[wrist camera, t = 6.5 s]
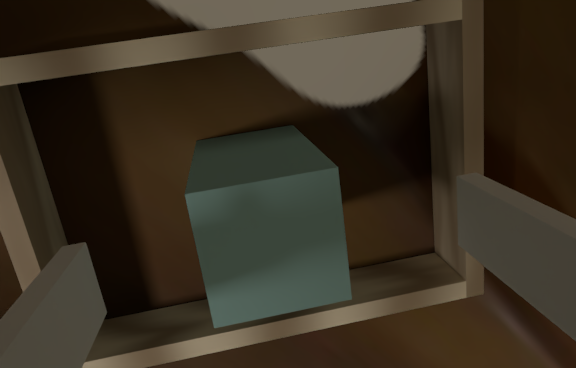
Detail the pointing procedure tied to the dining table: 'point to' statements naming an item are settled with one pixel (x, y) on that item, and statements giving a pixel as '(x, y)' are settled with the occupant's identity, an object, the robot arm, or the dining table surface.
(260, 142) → the block
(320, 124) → the dining table surface
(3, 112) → the tray
